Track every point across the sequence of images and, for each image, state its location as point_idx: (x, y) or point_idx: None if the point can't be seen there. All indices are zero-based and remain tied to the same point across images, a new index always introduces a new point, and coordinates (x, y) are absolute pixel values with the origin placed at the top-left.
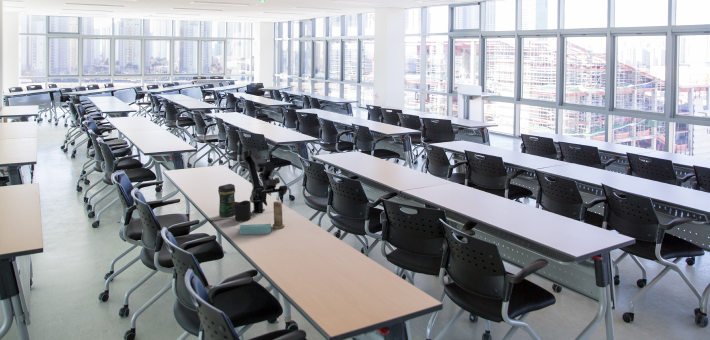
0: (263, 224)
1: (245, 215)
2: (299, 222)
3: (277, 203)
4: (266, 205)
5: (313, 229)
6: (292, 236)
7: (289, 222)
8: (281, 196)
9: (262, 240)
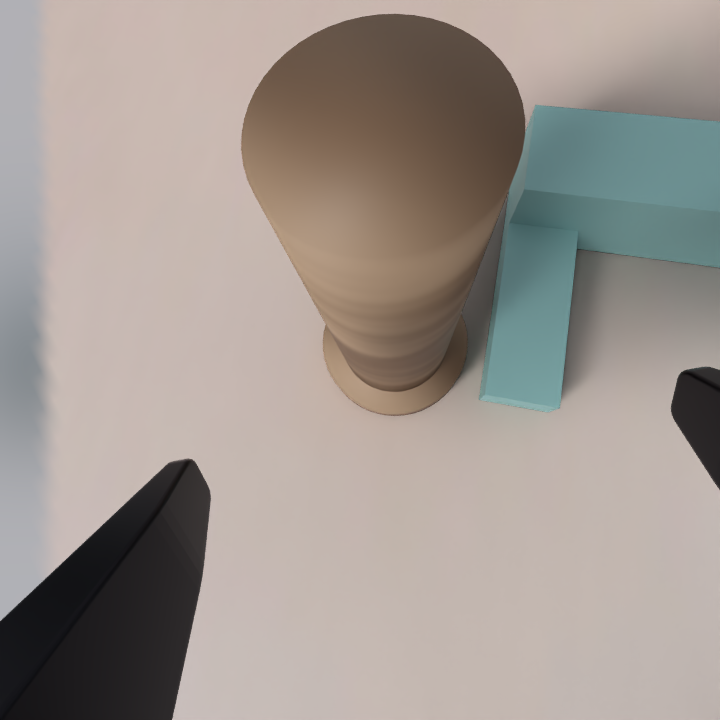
0: (622, 183)
1: None
2: (126, 437)
3: (406, 28)
4: (694, 389)
5: (85, 173)
6: None
7: (233, 477)
8: (37, 658)
9: (610, 5)
